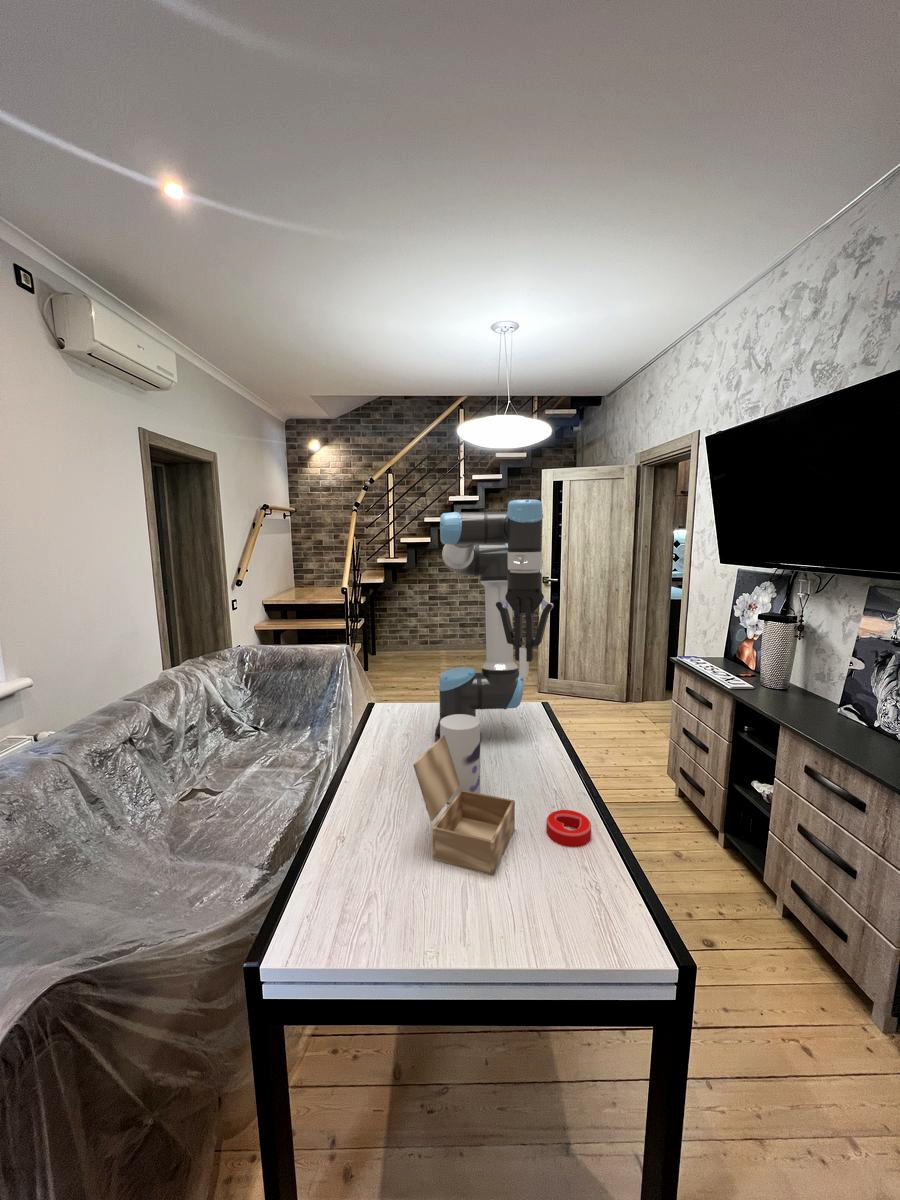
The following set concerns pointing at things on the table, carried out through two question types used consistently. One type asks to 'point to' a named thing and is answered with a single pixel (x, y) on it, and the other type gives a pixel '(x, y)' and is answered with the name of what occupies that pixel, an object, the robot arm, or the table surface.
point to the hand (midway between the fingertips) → (524, 674)
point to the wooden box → (474, 831)
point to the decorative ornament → (563, 835)
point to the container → (463, 749)
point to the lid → (436, 777)
